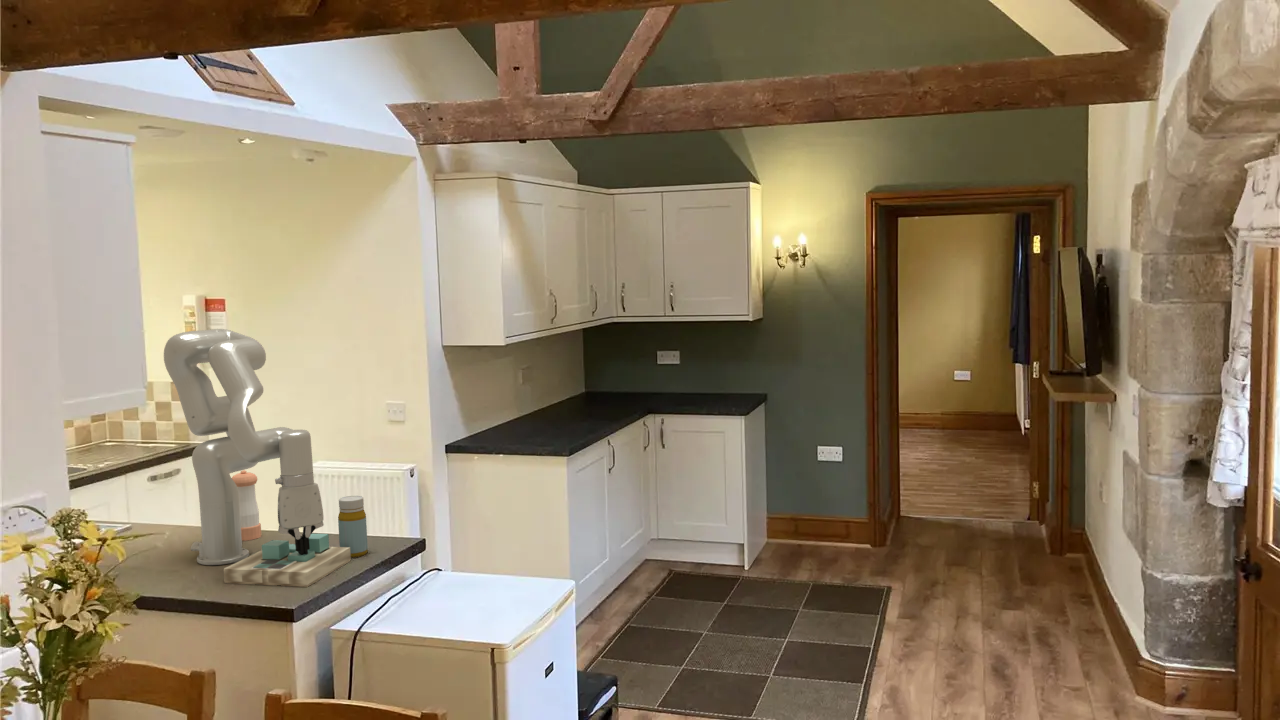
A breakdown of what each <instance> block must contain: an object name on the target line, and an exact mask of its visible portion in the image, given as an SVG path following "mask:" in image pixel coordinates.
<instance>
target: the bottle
mask: <svg viewBox="0 0 1280 720" xmlns="http://www.w3.org/2000/svg"><path fill="white" fill-rule="evenodd" d="M364 501H365V500H364V497H363V496H362V495H347V496H346V495H345V496H342V497H340V498H339V499H338V507H339V510H338V511H339V513H338V516H337V520H338V521H337V523H338V524H337V525H338V540H339V541H338V542H339V547H350V554H351V559H352V558H353V559H354V558H359V557H363V556H365V555H366V554H367V553H368V551H369V550H368V549H369V546H368V544H369V543H368V530H367V529H368V528H367V514H366V512H365V510H364V509H365V508H364V507H365V505H364Z"/></svg>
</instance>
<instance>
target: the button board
mask: <svg viewBox="0 0 1280 720" xmlns="http://www.w3.org/2000/svg"><path fill="white" fill-rule="evenodd" d="M290 554H292V553H289V555H290ZM351 561H352V558H351V554H350V547H340V546H329V548H327V549H325V550H324V551H322V552H315V557H314V558H312V559H310V560H308V561H307V562H297V561H288V555H287V556H285V557H283V558H281V559H280V560H277V559H263V558H262V549H261V550H259V551H257V552H255V553H252V554H251V555H249V556H248V557H247V558H245V559H243V560H240V561H237V562H234V563H232V564H230V565H229V566H226V567H224V568H223V582H224V584H239V585H255V584H259V585H262V586H277V585H281V586H280V587H282V586H283V587H303V588H308V587H310V586H312V585H313V584H315V583H317V582H318V581H320V580H322V579H324V577H326V576H328V575H329V574H331V573H334V572H335V571H336V570H338V569H340V568H341V567H343V566H344V565H347V564H348V563H350V562H351ZM259 585H258V586H259Z"/></svg>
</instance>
